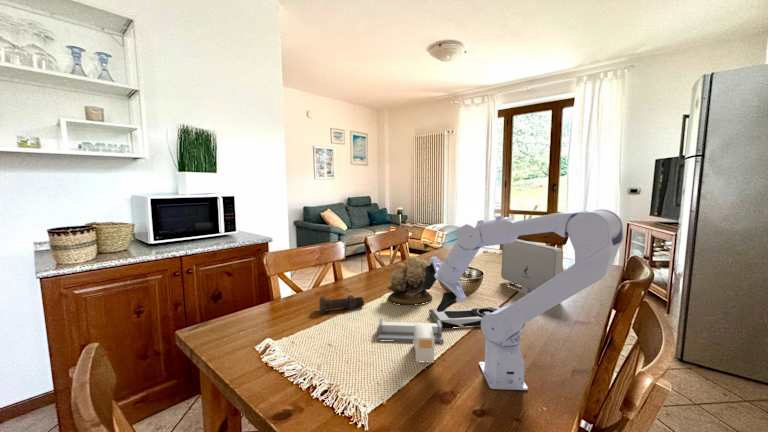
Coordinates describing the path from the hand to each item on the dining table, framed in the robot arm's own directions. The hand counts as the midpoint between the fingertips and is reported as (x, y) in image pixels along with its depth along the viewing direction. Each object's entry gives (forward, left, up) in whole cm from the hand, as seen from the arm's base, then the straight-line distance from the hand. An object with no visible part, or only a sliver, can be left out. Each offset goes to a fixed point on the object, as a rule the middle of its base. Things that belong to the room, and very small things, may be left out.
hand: (432, 299), depth 86 cm
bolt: (+19, +28, -12) cm, 36 cm away
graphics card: (+13, -14, -13) cm, 23 cm away
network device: (+43, -45, -12) cm, 63 cm away
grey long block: (+3, +6, -12) cm, 14 cm away
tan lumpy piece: (+30, +4, -12) cm, 33 cm away
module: (-7, +3, -12) cm, 14 cm away
